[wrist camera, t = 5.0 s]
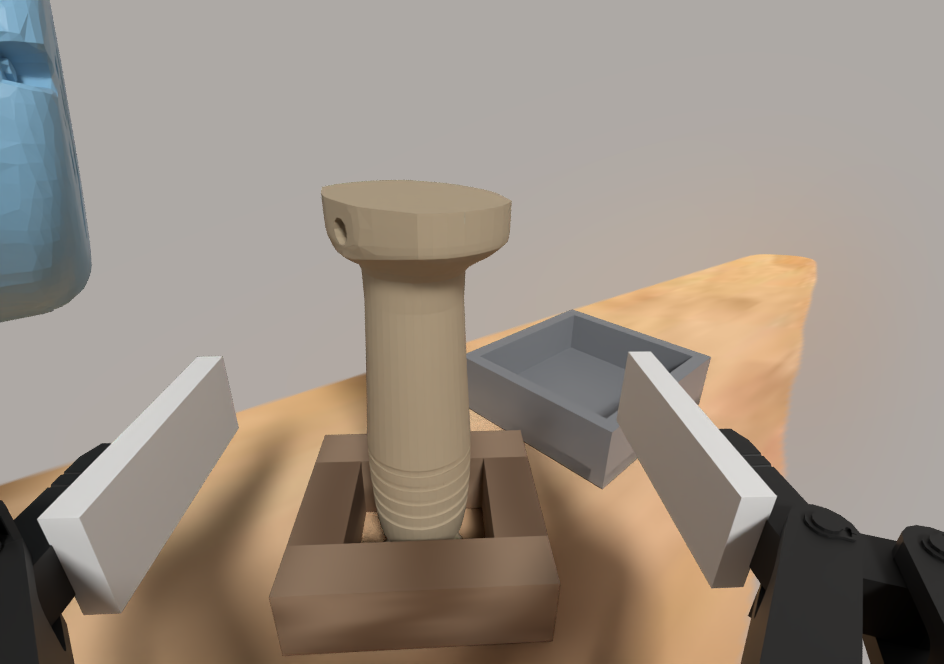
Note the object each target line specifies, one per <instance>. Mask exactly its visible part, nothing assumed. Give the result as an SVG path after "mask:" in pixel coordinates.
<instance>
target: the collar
mask: <svg viewBox="0 0 944 664" xmlns="http://www.w3.org/2000/svg"><path fill="white" fill-rule="evenodd" d="M470 433H471V441H470V442H471V449H470V476H469V486H468V494H467V502H466V508H482V512H483V521H484V530H485V538H475V539H450V540H425V541H400V542H375V543H361V538H362V533H363V527H364V521H365V516H366V512H373V511H377V508H376V503H375V498H374V492H373V486H372V480H371V472H370V464H369V454H368V443H367V434H346V435H325V437H324V440H323V443H322V446H321V448H320V451H319V454H318V457H317V460H316V463H315V466H314V469H313V472H312V474H311V477H310V480H309V483H308V486H307V489H306V492H305V495H304V497H303V500H302V503H301V506H300V509H299V512H298V515H297V518H296V521H295V523H294V526H293V529H292V532H291V535H290V538H289V541H288V544H287V547H286V549H285V552H284V555H283V558H282V561H281V564H280V567H279V570H278V573H277V575H276V578H275V581H274V584H273V587H272V590H271V593H270V596H269V600H270V604H271V608H272V612H273V617H274V621H275V625H276V629H277V634H278V638H279V642H280V646H281V651H282V655H283V656H286V655H304V654H323V653H341V652H359V651H377V650H396V649H414V648H432V647H450V646H469V645H487V644H505V643H523V642H542V641H553V633H554V626H555V619H556V612H557V604H558V597H559V590H560V580H559V576H558V573H557V569H556V565H555V561H554V557H553V553H552V550H551V546H550V542H549V538H548V534H547V530H546V526H545V523H544V519H543V515H542V511H541V507H540V503H539V499H538V496H537V492H536V488H535V484H534V480H533V476H532V473H531V469H530V465H529V461H528V457H527V453H526V449H525V446H524V442H523V438H522V434H521V430H506V431H470Z"/></svg>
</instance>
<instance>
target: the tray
mask: <svg viewBox="0 0 944 664" xmlns="http://www.w3.org/2000/svg"><path fill="white" fill-rule="evenodd" d="M650 351H651V352H652V353H653V355H654V356H655V357H656V358H657V359H658V360H659V362H660V363H661V364H662V365H663V366H664V367H665V368H666V370H667V371H668V372H669V373H670V374H671V375H672V376H673V378H674V379H675V380H676V381H677V382H678V383H679V385H680V386H681V387H682V388H683V389H684V390H685V391H686V393H687V394H688V395H689V396H690V397H691V398H692V399H693V401H694V402H695V403H696V404H697V405H698V404H699V402H700V398H701V394H702V390H703V386H704V382H705V378H706V374H707V370H708V367H709V363H710V359H711V357H709V356H707V355H704V354H701V353H698V352H695V351H692V350H689V349H686V348H683V347H680V346H677V345H674V344H671V343H669V342H666V341H663V340H660V339H657V338H654V337H651V336H648V335H645V334H642V333H639V332H636V331H633V330H631V329H628V328H625V327H622V326H619V325H616V324H613V323H610V322H607V321H604V320H601V319H598V318H595V317H593V316H590V315H587V314H584V313H581V312H578V311H575V310H569V311H567V312H565V313H562V314H560V315H557V316H555V317H553V318H550V319H548V320H546V321H543V322H541V323H538V324H536V325H534V326H531V327H529V328H526V329H524V330H522V331H519V332H517V333H515V334H512V335H510V336H507V337H505V338H503V339H500V340H498V341H495V342H493V343H491V344H488V345H486V346H484V347H481V348H479V349H476V350H474V351H472V352H469V353H467V354H466V359H467V378H468V397H469V408H470V409H471V410H473V411H475V412H476V413H478V414H479V415H481V416H483V417H484V418H486V419H488V420H489V421H491V422H493V423H494V424H496V425H498V426H499V427H501V428H503V429H504V430H521V434H522V438H523V441H524V442H526V443H527V444H529V445H531V446H532V447H534V448H536V449H537V450H539V451H540V452H542V453H544V454H545V455H547V456H549V457H550V458H552V459H554V460H555V461H557V462H559V463H560V464H562V465H564V466H565V467H567V468H569V469H570V470H572V471H573V472H575V473H577V474H578V475H580V476H582V477H583V478H585V479H587V480H588V481H590V482H592V483H593V484H595V485H597V486H598V487H600V488H601V489H603V488H604V487H605V486H606V485H608V484H609V483H610V482H611V481H612V480H613V479H614V478H616V477H617V476H618V475H619V474H620V473H621V472H622V471H623V470H625V469H626V468H627V467H628V466H629V465H630V464H631V463H633V462H634V461H635V460H636V459H637V456H636V454H635V452H634V451H633V449H632V447H631V445H630V444H629V442H628V440H627V438H626V437H625V435H624V433H623V431H622V430H621V428H620V426H619V424H618V422H617V421H616V420H617V414H618V408H619V403H620V397H621V391H622V385H623V380H624V374H625V368H626V362H627V357H628V352H650Z"/></svg>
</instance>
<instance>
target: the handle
mask: <svg viewBox="0 0 944 664" xmlns="http://www.w3.org/2000/svg"><path fill="white" fill-rule="evenodd" d="M321 195H322V204H323V213H324V220H325V227H326V231H327V234H328V236H329V238H330V240H331V242H332V244H333V246H334V247H335V249H336V250H337V252H339V253H340V254H341V255H342V256H343V257H345V258H347V259H349V260H350V261H352V262H355V263H357V264H359V265H360V267H361V269H362V279H363V288H364V298H365V334H366V335H365V336H366V379H367V443H368V454H369V464H370V472H371V480H372V486H373V492H374V498H375V503H376V508H377V512H378V517H379V520H380V523H381V526H382V529H383V532H384V534H385V536H386V537H387V541H385V542H400V541H425V540H450V539H461V536H460V535H459V530H460V528H461V525H462V521H463V517H464V513H465V508H466V502H467V494H468V486H469V476H470V449H471V442H470V441H471V433H470V415H469V397H468V378H467V359H466V336H465V313H464V286H465V270H466V269H467V268H468V267H469V266H471V265H473V264H475V263H476V262H479V261H481V260H483V259H485V258H487V257H489V256H490V255H492V254H493V253H495V252H496V251H498V250H499V249H500V248H501V247H502V246H504V245H505V244H506V243H507V242H508V238H509V233H510V221H511V202H512V201H511V200H509V199H507V198H505V197H503V196H501V195H499V194H497V193H494V192H491V191H487V190H483V189H478V188H473V187H467V186H461V185H455V184H447V183H437V182H424V181H413V180H380V181H362V182H351V183H342V184H335V185H329V186H326V187H322V190H321Z"/></svg>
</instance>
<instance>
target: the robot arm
mask: <svg viewBox="0 0 944 664" xmlns="http://www.w3.org/2000/svg"><path fill="white" fill-rule="evenodd" d="M91 266H92V265H91V250H90V241H89V233H88V226H87V219H86V212H85V205H84V198H83V192H82V186H81V179H80V173H79V167H78V160H77V154H76V148H75V142H74V136H73V130H72V124H71V119H70V113H69V108H68V101H67V95H66V89H65V83H64V78H63V71H62V66H61V60H60V54H59V49H58V44H57V38H56V32H55V27H54V22H53V16H52V11H51V5H50V1H49V0H0V322H4V321H10V320H14V319H19V318H24V317H30V316H35V315H40V314H45V313H48V312H52V311H53V310H54V309H56V308H59V307H62V306H63V305H65V304H67V303H69V302H70V301H71V300H72V299H73V298H74V297H75V296H76V295H77V294H79V293H80V292H81V291H82V290H83V289H84V287H85V285H86V283H87V281H88V279H89V276H90V273H91ZM616 421H617V422H618V424H619V426H620V428H621V430H622V431H623V433H624V435H625V437H626V438H627V440H628V442H629V444H630V445H631V447H632V449H633V451H634V452H635V454H636V456H637V458H638V460H639V461H640V463H641V465H642V467H643V468H644V470H645V472H646V474H647V475H648V477H649V479H650V481H651V482H652V484H653V486H654V488H655V490H656V491H657V493H658V495H659V497H660V498H661V500H662V502H663V504H664V505H665V507H666V509H667V511H668V512H669V514H670V516H671V518H672V520H673V521H674V523H675V525H676V527H677V528H678V530H679V532H680V534H681V535H682V537H683V539H684V541H685V543H686V544H687V546H688V548H689V550H690V551H691V553H692V555H693V557H694V558H695V560H696V562H697V564H698V565H699V567H700V569H701V571H702V573H703V574H704V576H705V578H706V580H707V581H708V583H709V585H710V587H711V588H731V587H743V586H744V584H745V581H746V578H747V576H748V573H749V570H750V568H751V570H752V571H753V573H754V574H755V576H756V577H757V579H758V580H759V582H760V583H761V584H760V587H759V589H758V592H757V594H756V597H755V599H754V602H753V605H752V607H751V610H750V612H749V615H748V616H749V617H751V621H750V625H749V630H748V634H747V639H746V643H745V647H744V652H743V656H742V660H741V664H862V638H863V641H864V645H865V647H866V651H867V654H868V657H869V660H870V663H871V664H944V532H942V531H939V530H936V529H934V528H931V527H924V526H918V525H915V526H909V527H906V528H905V529H904V530H903V531H902V533H901V535H900V537H899V538H898V540H897V541H894V540H889V539H885V538H879V537H875V536H870V535H865V534H861V533H859V531H857V529H856V528H855V527H854V526H853V524H852V523H850V522H849V521H847V520H846V519H845V518H843V517H842V516H841V515H839V514H837V513H835V512H833V511H831V510H829V509H827V508H823V507H819V506H816V505H813V504H812V505H811V504H808V503H807V502H806V501H805V500H804V499H803V498H802V497H801V496H800V495H799V494H798V492H797V491H796V490H795V489H794V488H793V487H792V486H791V485H790V484H789V483H788V482H787V481H786V480H785V479H784V477H783V476H782V475H781V474H780V473H779V472H778V471H777V470H776V469H775V468H774V467H771V464H770V462H769V461H768V460H767V459H766V458H765V457H764V456H761V453H760V452H759V451H758V450H757V449H756V447H755V446H754V445H753V444H752V443H751V442H750V441H749V440H748V439H746V438H744V437H743V436H741V435H740V434H738V433H737V432H735V431H733V430H732V429H718V428H717V427H716V426H715V425H714V424H713V422H712V421H711V420H710V419H709V418H708V417H707V416H706V414H705V413H704V412H703V411H702V410H701V409H700V407H699V406H698V405H697V404H696V403H695V402H694V401H693V399H692V398H691V397H690V396H689V395H688V394H687V393H686V391H685V390H684V389H683V388H682V387H681V386H680V385H679V383H678V382H677V381H676V380H675V379H674V378H673V376H672V375H671V374H670V373H669V372H668V371H667V370H666V368H665V367H664V366H663V365H662V364H661V363H660V362H659V360H658V359H657V358H656V357H655V356H654V355H653V353H652V352H651V351H650V352H628V357H627V362H626V368H625V374H624V380H623V385H622V391H621V397H620V403H619V408H618V414H617V420H616ZM238 428H239V427H238V422H237V418H236V413H235V409H234V405H233V401H232V396H231V391H230V387H229V382H228V378H227V373H226V369H225V365H224V360H223V356H199V357H197V358H196V359H195V360H194V361H193V362H192V363H191V364H190V365H189V366H188V367H187V368H186V369H185V370H184V371H183V372H182V373H181V374H180V375H179V376H178V377H177V378H176V379H175V380H174V381H173V382H172V383H171V384H170V385H169V386H168V387H167V388H166V389H165V390H164V391H163V392H162V393H161V394H160V395H159V396H158V397H157V398H156V399H155V400H154V401H153V402H152V403H151V404H150V405H149V406H148V407H147V408H146V409H145V411H143V412H142V413H141V414H140V415H139V416H138V417H137V418H136V419H135V420H134V421H133V422H132V423H131V424H130V425H129V426H128V427H127V428H126V429H125V430H124V431H123V432H122V433H121V434H120V435H119V437H118V438H117V439H116V440H115V441H114V442H113V443H102V444H100V445H99V446H97V447H95V448H94V449H92V450H90V451H89V452H87V453H85V454H84V455H82V456H80V457H79V458H78V459H77V460H76V461H75V462H74V463H73V464H72V465H71V466H70V467H69V468H68V469H67V470H66V471H64V475H60V476H59V477H58V478H57V479H56V480H55V481H54V482H53V483H52V484H51V487H50V488H47V489H46V490H45V491H44V492H43V493H42V494H41V495H39V496H38V497H37V498H36V499H35V500H34V501H33V502H32V503H31V504H30V505H29V506H28V507H27V508H26V509H25V510H24V511H23V512H22V513H21V514H20V515H19V516H18V517H17V518H16V519H14V520H13V519H12V517H11V515H10V513H9V511H8V509H7V507H6V505H5V504H4V503H3V501H1V500H0V664H74V659H73V654H72V649H71V644H70V638H69V633H68V628H67V624H66V622H65V620H64V618H63V616H62V612H63V611H64V610H65V608H66V607H67V606H68V604H69V603H70V602H71V600H72V599H73V598H74V596H75V598H76V600H77V602H78V604H79V606H80V609H81V611H82V613H83V615H93V614H117V613H121V612H122V611H123V609H124V608H125V606H126V605H127V603H128V601H129V600H130V598H131V597H132V595H133V594H134V592H135V590H136V589H137V587H138V586H139V584H140V583H141V581H142V579H143V578H144V576H145V575H146V573H147V572H148V570H149V568H150V567H151V565H152V564H153V562H154V561H155V559H156V557H157V556H158V554H159V553H160V551H161V550H162V548H163V546H164V545H165V543H166V542H167V540H168V538H169V537H170V535H171V534H172V532H173V531H174V529H175V527H176V526H177V524H178V523H179V521H180V520H181V518H182V516H183V515H184V513H185V512H186V510H187V509H188V507H189V505H190V504H191V502H192V501H193V499H194V498H195V496H196V494H197V493H198V491H199V490H200V488H201V487H202V485H203V483H204V482H205V480H206V479H207V477H208V476H209V474H210V472H211V471H212V469H213V468H214V466H215V465H216V463H217V461H218V460H219V458H220V457H221V455H222V454H223V452H224V450H225V449H226V447H227V446H228V444H229V443H230V441H231V439H232V438H233V436H234V435H235V433H236V432H237V430H238Z"/></svg>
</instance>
